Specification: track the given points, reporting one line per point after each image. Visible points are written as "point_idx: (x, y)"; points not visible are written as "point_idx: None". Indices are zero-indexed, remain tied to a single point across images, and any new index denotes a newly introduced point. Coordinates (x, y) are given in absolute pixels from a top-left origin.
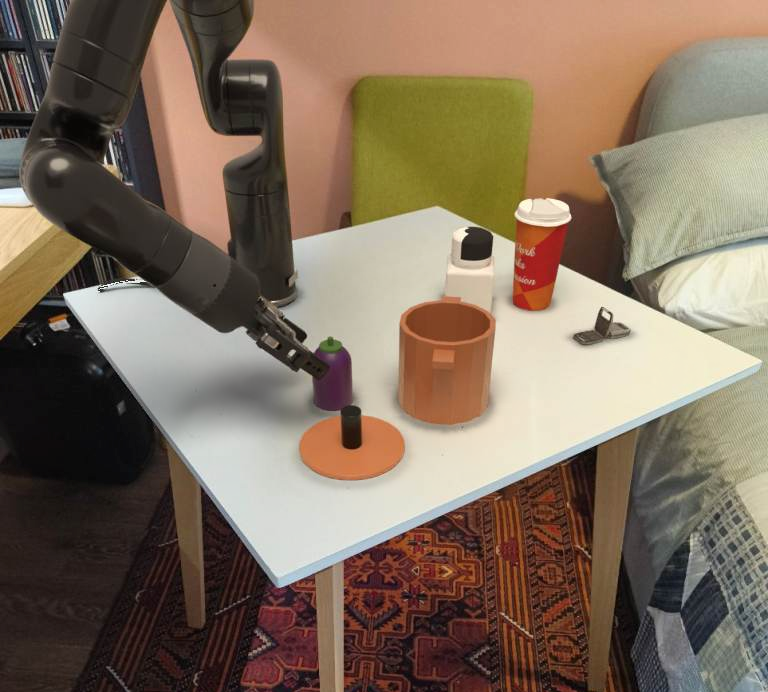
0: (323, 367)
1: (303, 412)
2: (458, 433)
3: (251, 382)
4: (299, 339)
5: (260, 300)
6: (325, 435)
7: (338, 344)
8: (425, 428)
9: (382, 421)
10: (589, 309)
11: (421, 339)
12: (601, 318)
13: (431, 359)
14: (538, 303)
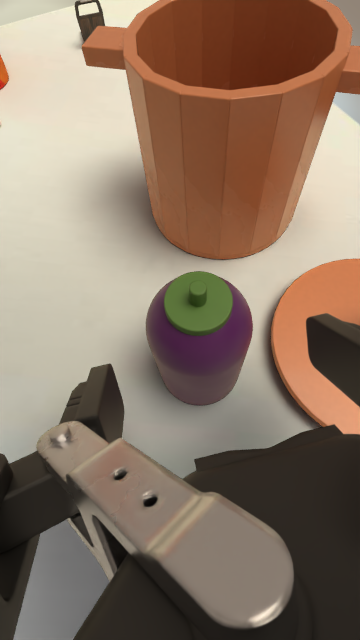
0: (358, 327)
1: (221, 431)
2: (306, 197)
3: (62, 559)
4: (115, 392)
5: (285, 620)
6: None
7: (199, 279)
8: (291, 233)
9: (299, 283)
10: (30, 44)
11: (327, 69)
12: (86, 18)
13: (330, 103)
14: (2, 68)
